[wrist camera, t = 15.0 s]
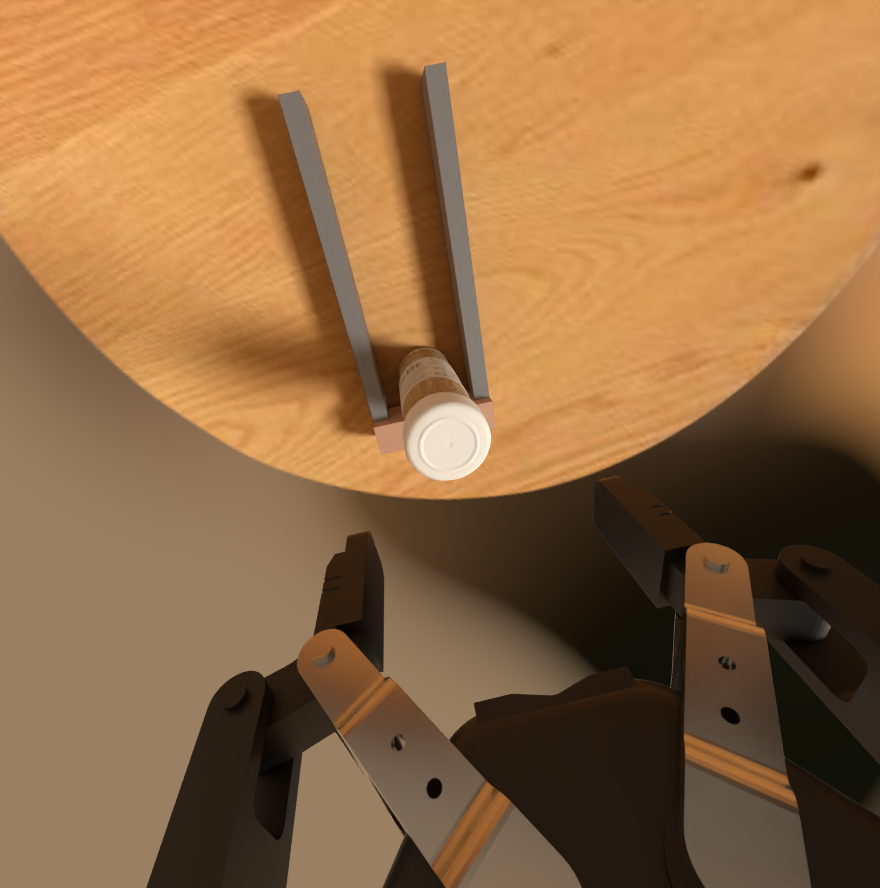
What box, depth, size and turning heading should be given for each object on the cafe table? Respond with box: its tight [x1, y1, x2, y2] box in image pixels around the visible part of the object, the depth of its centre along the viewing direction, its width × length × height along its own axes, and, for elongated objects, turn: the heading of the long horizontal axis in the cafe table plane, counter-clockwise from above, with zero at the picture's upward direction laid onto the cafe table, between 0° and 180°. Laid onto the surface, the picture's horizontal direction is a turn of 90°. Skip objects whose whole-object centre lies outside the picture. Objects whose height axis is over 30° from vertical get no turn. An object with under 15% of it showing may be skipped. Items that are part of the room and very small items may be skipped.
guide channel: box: [278, 62, 496, 455], centre depth 27 cm, size 22×9×4 cm, turn 11°
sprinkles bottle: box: [398, 347, 491, 481], centre depth 25 cm, size 5×5×14 cm
